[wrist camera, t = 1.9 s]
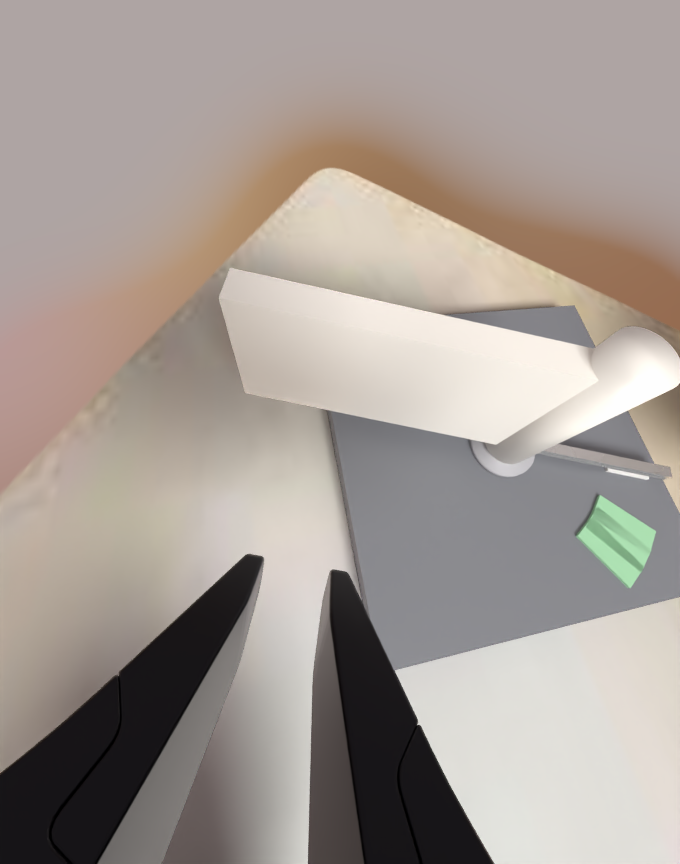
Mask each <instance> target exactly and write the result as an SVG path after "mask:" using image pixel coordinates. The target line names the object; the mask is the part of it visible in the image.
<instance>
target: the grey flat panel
mask: <svg viewBox="0 0 680 864" xmlns="http://www.w3.org/2000/svg"><path fill="white" fill-rule="evenodd" d="M445 316H450V317H454V318H459V319H463V320H468V321H472V322H477V323H481V324H486V325H490V326H495V327H499V328H504V329H508V330H513V331H517V332H522V333H526V334H531V335H535V336H540V337H544V338H549V339H553V340H558V341H562V342H567V343H571V344H575V345H580V346H584V347H589V348H593V349H594V348H595V345H594V343H593V341H592V339H591V337H590V335H589V333H588V331H587V329H586V327H585V326H584V324H583V322H582V320H581V318H580V316H579V314H578V312H577V310H576V308H575V306H561V307H547V308H533V309H519V310H505V311H491V312H477V313H463V314H449V315H445ZM327 412H328V417H329V423H330V428H331V433H332V439H333V444H334V450H335V455H336V460H337V466H338V471H339V477H340V482H341V487H342V493H343V498H344V504H345V509H346V514H347V520H348V525H349V531H350V536H351V542H352V547H353V552H354V558H355V563H356V569H357V574H358V579H359V585H360V590H361V596H362V601H363V605H364V607H365V610H366V612H367V614H368V616H369V618H370V620H371V622H372V624H373V626H374V629H375V631H376V633H377V635H378V637H379V639H380V641H381V643H382V645H383V648H384V650H385V652H386V654H387V656H388V658H389V660H390V662H391V664H392V667H393V669H394V670H397V669H401V668H405V667H409V666H413V665H417V664H420V663H424V662H428V661H432V660H436V659H440V658H444V657H448V656H452V655H456V654H459V653H463V652H467V651H471V650H475V649H479V648H483V647H487V646H491V645H494V644H498V643H502V642H506V641H510V640H514V639H518V638H522V637H526V636H529V635H533V634H537V633H541V632H545V631H549V630H553V629H557V628H561V627H564V626H568V625H572V624H576V623H580V622H584V621H588V620H592V619H596V618H599V617H603V616H607V615H611V614H615V613H619V612H623V611H627V610H631V609H635V608H638V607H642V606H646V605H650V604H654V603H658V602H662V601H666V600H670V599H673V598H677V597H680V513H679V511H678V509H677V507H676V505H675V503H674V501H673V499H672V497H671V496H670V494H669V492H668V490H667V488H666V486H665V484H664V482H663V480H662V479H659V478H654V477H649V476H644V475H639V474H634V473H629V472H624V471H620V470H615V469H610V468H605V467H600V466H595V465H590V464H586V463H581V462H576V461H571V460H566V459H561V458H556V457H552V456H547V455H542V454H536V455H534V456H532V457H530V458H528V459H525V460H523V461H521V462H519V463H517V464H505V463H502V462H500V461H498V460H497V459H495V458H494V457H493V456H492V455H491V454H490V452H489V451H488V449H487V447H486V444H485V442H480V441H475V440H471V439H466V438H461V437H456V436H451V435H446V434H441V433H437V432H432V431H427V430H422V429H417V428H412V427H407V426H402V425H398V424H393V423H388V422H383V421H378V420H373V419H368V418H364V417H359V416H354V415H349V414H344V413H339V412H334V411H330V410H327ZM559 444H561V445H566V446H571V447H576V448H580V449H585V450H590V451H595V452H600V453H604V454H609V455H614V456H619V457H624V458H629V459H633V460H638V461H643V462H648V463H653V464H654V462H653V460H652V458H651V456H650V454H649V452H648V450H647V448H646V446H645V444H644V442H643V440H642V438H641V436H640V434H639V432H638V430H637V428H636V426H635V424H634V422H633V420H632V418H631V416H630V414H629V412H628V411H625V412H623V413H621V414H619V415H617V416H615V417H613V418H611V419H609V420H607V421H605V422H603V423H600V424H598V425H596V426H594V427H592V428H590V429H588V430H586V431H584V432H582V433H580V434H578V435H575V436H573V437H571V438H569V439H567V440H565V441H563V442H561V443H559Z"/></svg>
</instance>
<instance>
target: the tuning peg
mask: <svg viewBox="0 0 680 864" xmlns="http://www.w3.org/2000/svg"><path fill="white" fill-rule="evenodd" d="M219 301H220V305H221V309H222V312H223V316H224V319H225V323H226V327H227V330H228V334H229V337H230V341H231V345H232V348H233V352H234V355H235V359H236V363H237V366H238V370H239V373H240V377H241V381H242V384H243V388H244V391H245V393H247V394H252V395H257V396H261V397H266V398H271V399H276V400H281V401H286V402H291V403H295V404H300V405H305V406H310V407H315V408H320V409H325V410H330V411H334V412H339V413H344V414H349V415H354V416H359V417H364V418H368V419H373V420H378V421H383V422H388V423H393V424H398V425H402V426H407V427H412V428H417V429H422V430H427V431H432V432H437V433H441V434H446V435H451V436H456V437H461V438H466V439H471V440H475V441H480V442H485V444H486V447H487V449H488V451H489V452H490V454H491V455H492V456H493V457H494V458H495V459H497V460H498V461H500V462H502V463H505V464H517V463H519V462H521V461H523V460H525V459H528V458H530V457H532V456H534V455H536V454H542V455H547V456H552V457H556V458H561V459H566V460H571V461H576V462H581V463H586V464H590V465H595V466H600V467H605V468H610V469H615V470H620V471H624V472H629V473H634V474H639V475H644V476H649V477H654V478H659V479H667V478H671V477H672V474H671V469H670V467H667V466H662V465H657V464H653V463H648V462H643V461H638V460H633V459H629V458H624V457H619V456H614V455H609V454H604V453H600V452H595V451H590V450H585V449H580V448H576V447H571V446H566V445H561V444H559V443H561V442H563V441H565V440H567V439H569V438H571V437H573V436H575V435H578V434H580V433H582V432H584V431H586V430H588V429H590V428H592V427H594V426H596V425H598V424H600V423H603V422H605V421H607V420H609V419H611V418H613V417H615V416H617V415H619V414H621V413H623V412H625V411H628V410H630V409H632V408H634V407H636V406H638V405H640V404H642V403H644V402H646V401H648V400H650V399H653V398H655V397H657V396H659V395H661V394H663V393H665V392H667V391H669V390H671V389H673V388H675V387H676V386H678V385H679V383H680V358H679V356H678V354H677V352H676V351H675V350H674V348H673V347H672V346H671V345H670V344H669V343H668V342H667V341H666V340H665V339H664V338H662V337H661V336H660V335H658V334H656V333H655V332H653V331H651V330H648V329H646V328H642V327H637V326H628V327H624V328H621V329H619V330H618V331H617V332H615V333H614V334H612V335H611V336H610V337H608V338H607V339H606V340H604V341H603V342H602V343H600V344H599V345H598V346H596V347H595V348H594V349H593V348H589V347H584V346H580V345H575V344H571V343H567V342H562V341H558V340H553V339H549V338H544V337H540V336H535V335H531V334H526V333H522V332H517V331H513V330H508V329H504V328H499V327H495V326H490V325H486V324H481V323H477V322H472V321H468V320H463V319H459V318H454V317H450V316H445V315H441V314H436V313H432V312H427V311H423V310H418V309H414V308H409V307H405V306H401V305H396V304H392V303H387V302H383V301H378V300H374V299H369V298H365V297H360V296H356V295H351V294H347V293H342V292H338V291H333V290H329V289H324V288H320V287H315V286H311V285H306V284H302V283H297V282H293V281H288V280H284V279H279V278H275V277H270V276H266V275H261V274H257V273H252V272H248V271H243V270H239V269H235V268H230V269H229V272H228V274H227V277H226V279H225V282H224V285H223V287H222V290H221V292H220V295H219Z"/></svg>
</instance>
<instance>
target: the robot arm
mask: <svg viewBox="0 0 680 864" xmlns="http://www.w3.org/2000/svg"><path fill="white" fill-rule="evenodd" d="M263 566H264V558H263V557H262V556H258V555H252V554H247V555H245V556H244V557H243V558H242V559H241V560H240V561H239V562H237V563H236V564H235V565H234V566H233V567H232V568H231V569H230V570H229V571H228V572H227V573H226V574H224V575H223V576H222V577H221V578H220V579H219V580H218V581H217V582H216V583H215V584H214V585H213V586H212V587H210V588H209V589H208V590H207V591H206V592H205V593H204V594H203V595H202V596H201V597H200V598H199V599H197V600H196V601H195V602H194V603H193V604H192V605H191V606H190V607H189V608H188V609H187V610H186V611H184V612H183V613H182V614H181V615H180V616H179V617H178V618H177V619H176V620H175V621H174V622H173V623H171V624H170V625H169V626H168V627H167V628H166V629H165V630H164V631H163V632H162V633H161V634H160V635H159V636H157V637H156V638H155V639H154V640H153V641H152V642H151V643H150V644H149V645H148V646H147V647H146V648H144V649H143V650H142V651H141V652H140V653H139V654H138V655H137V656H136V657H135V658H134V659H133V660H131V661H130V662H129V663H128V664H127V665H126V666H125V667H124V668H123V669H122V670H121V671H120V672H119V676H118V675H115V676H114V677H113V678H112V679H111V680H110V681H108V682H107V683H106V684H105V685H104V686H103V687H102V688H101V689H100V690H99V691H98V692H97V693H96V694H95V695H93V696H92V697H91V698H90V699H89V700H88V701H87V702H85V703H84V704H83V705H82V706H81V707H80V708H79V709H78V710H76V711H75V712H74V713H73V714H72V715H71V716H70V717H69V718H67V719H66V720H65V721H64V722H63V723H62V724H61V725H59V726H58V727H57V728H56V729H54V730H53V731H52V732H51V733H50V734H48V735H47V736H46V737H45V738H43V739H42V740H41V741H40V742H39V743H37V744H36V745H35V746H34V747H32V748H31V749H30V750H29V751H27V752H26V753H25V754H24V755H23V756H21V757H20V758H19V759H18V760H16V761H15V762H14V763H13V764H11V765H10V766H9V767H8V768H6V769H5V770H4V771H2V772H1V773H0V864H162V862H163V860H164V857H165V855H166V852H167V850H168V847H169V844H170V842H171V839H172V837H173V834H174V831H175V829H176V826H177V824H178V821H179V818H180V816H181V813H182V811H183V808H184V806H185V803H186V800H187V798H188V795H189V793H190V790H191V787H192V785H193V782H194V780H195V777H196V774H197V772H198V769H199V767H200V764H201V762H202V759H203V756H204V754H205V751H206V749H207V746H208V743H209V741H210V738H211V736H212V733H213V730H214V728H215V725H216V723H217V720H218V718H219V715H220V712H221V710H222V707H223V705H224V702H225V699H226V697H227V694H228V692H229V689H230V686H231V684H232V681H233V679H234V676H235V674H236V671H237V668H238V665H239V662H240V659H241V656H242V653H243V649H244V645H245V642H246V638H247V634H248V630H249V627H250V623H251V619H252V616H253V612H254V608H255V604H256V601H257V597H258V593H259V589H260V584H261V578H262V572H263ZM417 724H418V719H417V717H416V715H415V713H414V711H413V709H412V707H411V705H410V702H409V700H408V698H407V696H406V694H405V692H404V690H403V688H402V686H401V683H400V681H399V679H398V677H397V675H396V673H395V671H394V669H393V667H392V664H391V662H390V660H389V658H388V656H387V654H386V652H385V650H384V648H383V645H382V643H381V641H380V639H379V637H378V635H377V633H376V631H375V629H374V626H373V624H372V622H371V620H370V618H369V616H368V614H367V612H366V610H365V607H364V605H363V603H362V601H361V599H360V597H359V595H358V593H357V591H356V588H355V586H354V584H353V582H352V580H351V578H350V576H349V574H348V573H347V572H345V571H339V570H331V571H330V573H329V576H328V580H327V584H326V588H325V592H324V596H323V601H322V608H321V616H320V623H319V631H318V638H317V646H316V653H315V661H314V670H313V686H312V725H311V765H310V804H309V843H308V864H494V862H493V861H492V859H491V857H490V855H489V854H488V852H487V850H486V849H485V847H484V845H483V843H482V842H481V840H480V838H479V836H478V835H477V833H476V831H475V829H474V828H473V826H472V824H471V822H470V821H469V819H468V817H467V815H466V813H465V812H464V810H463V808H462V806H461V804H460V803H459V801H458V799H457V797H456V795H455V794H454V792H453V790H452V788H451V786H450V785H449V783H448V781H447V779H446V777H445V775H444V773H443V771H442V769H441V767H440V765H439V763H438V761H437V759H436V757H435V755H434V753H433V751H432V749H431V747H430V744H429V742H428V740H427V738H426V736H425V734H424V732H423V729H422V727H421V726H420V725H417Z"/></svg>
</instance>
